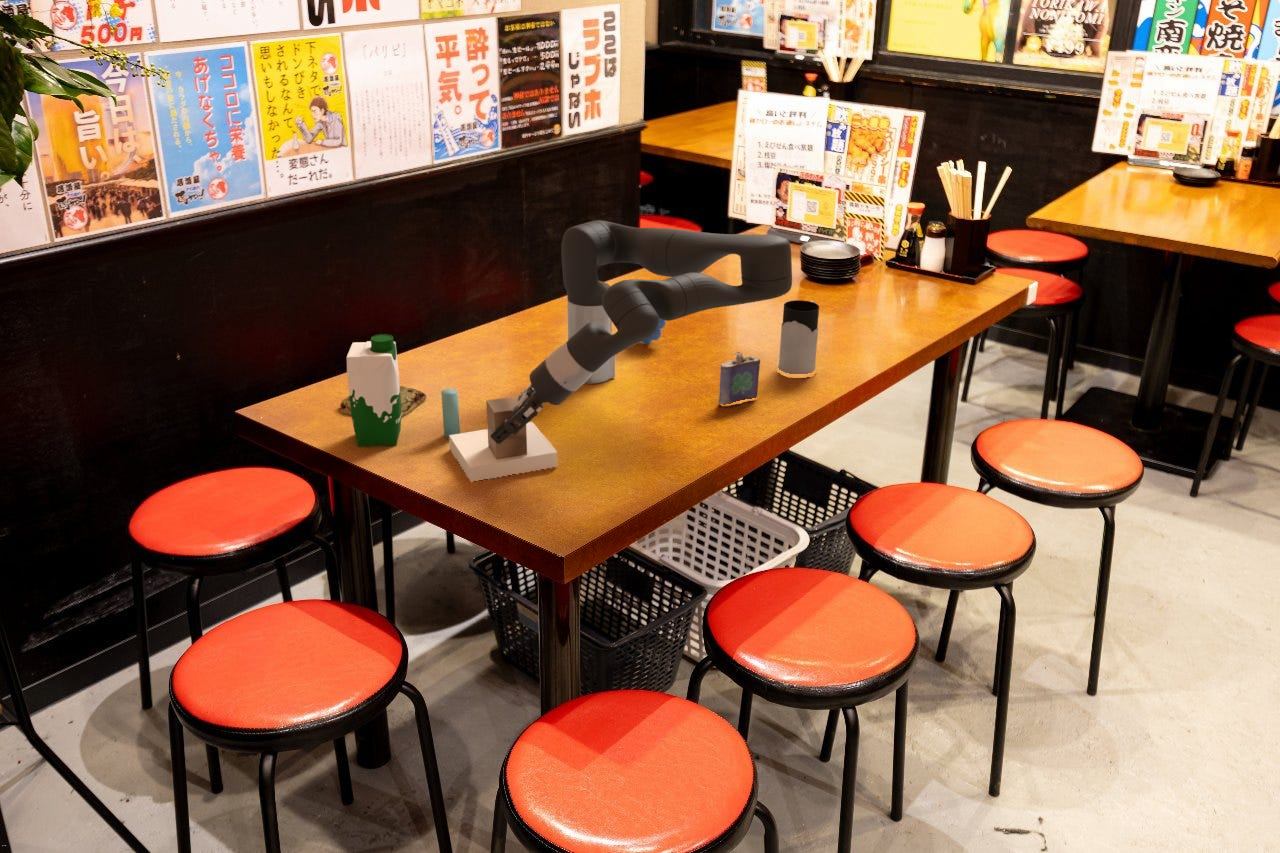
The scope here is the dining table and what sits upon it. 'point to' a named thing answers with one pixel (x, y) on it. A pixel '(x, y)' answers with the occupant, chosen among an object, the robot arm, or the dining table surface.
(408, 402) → the pastry
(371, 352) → the milk carton
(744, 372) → the flask
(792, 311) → the glass holder
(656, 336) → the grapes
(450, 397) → the peg
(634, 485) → the dining table surface
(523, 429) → the grey brown block
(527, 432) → the board
